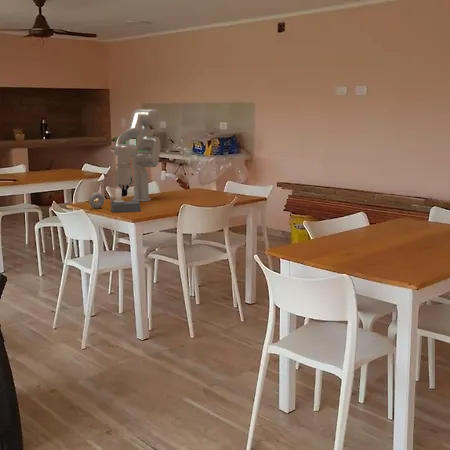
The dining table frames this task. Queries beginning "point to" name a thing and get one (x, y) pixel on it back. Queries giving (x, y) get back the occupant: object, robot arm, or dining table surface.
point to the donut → (92, 198)
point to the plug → (118, 196)
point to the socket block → (125, 206)
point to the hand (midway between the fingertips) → (124, 195)
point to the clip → (113, 197)
